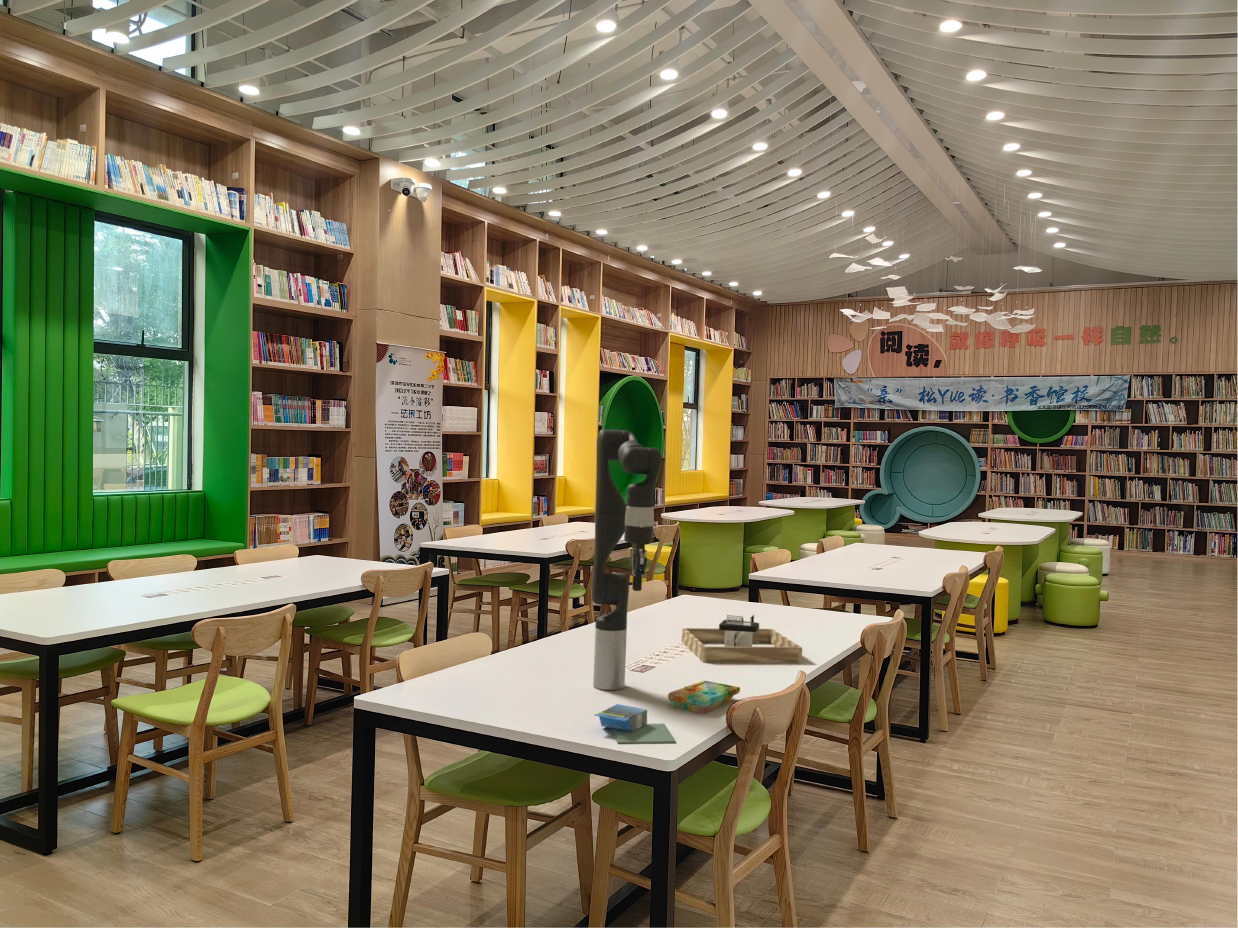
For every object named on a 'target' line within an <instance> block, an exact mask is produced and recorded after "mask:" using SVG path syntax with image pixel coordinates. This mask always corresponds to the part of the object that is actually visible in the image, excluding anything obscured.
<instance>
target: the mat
mask: <svg viewBox="0 0 1238 928" xmlns="http://www.w3.org/2000/svg"><path fill="white" fill-rule="evenodd" d="M610 729H611V732H612V735H613V737H614V738H615V740H616V742H617V744H620V745H621V744H676V743H677V740H676V739H675V738H674V736H673V735H672V733H671V732H670V730H669V729H668V726H667V725H666V724H665V723H647V724H646V725H644V726H642V727H640V728H638V729H636V730H635V731H633V732H630V731H625V730H620V729H614V728H610Z"/></svg>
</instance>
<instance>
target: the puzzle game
mask: <svg viewBox="0 0 1238 928" xmlns="http://www.w3.org/2000/svg"><path fill="white" fill-rule="evenodd" d="M740 692H741V687H740V686H735V685H729V684H727V683H726V684H724V683H719V682H714V681H709V680H701V681H698V682H696V683H692V684H690V685H687V686H684V687H682V688H679V689H677V690H674V691H673V690H672V691H670V692H669V693H667V700H668V701H669V702H670V704H671V705H672V707H673V708H676V709H681V710H686V711H689V712H690V711H691V712H695V713H700V714H705V713H708V712H710V711H713V710H714V709H717V708H718V707H721V706H723V705H725V704H728V703H729V702H731V701H732V699H733V698H734V696H735V695H737V694H739V693H740Z"/></svg>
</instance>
